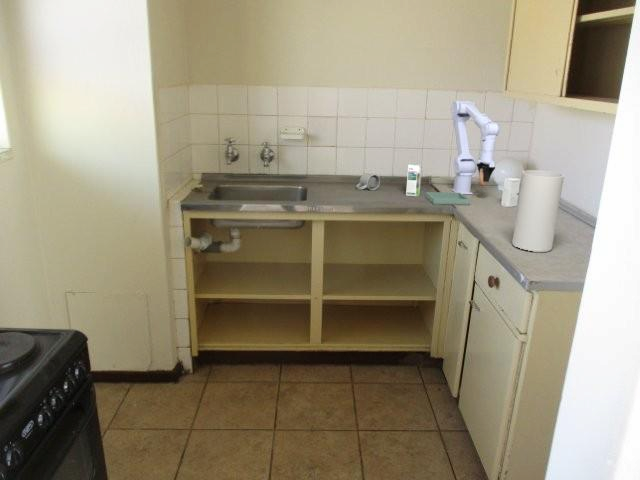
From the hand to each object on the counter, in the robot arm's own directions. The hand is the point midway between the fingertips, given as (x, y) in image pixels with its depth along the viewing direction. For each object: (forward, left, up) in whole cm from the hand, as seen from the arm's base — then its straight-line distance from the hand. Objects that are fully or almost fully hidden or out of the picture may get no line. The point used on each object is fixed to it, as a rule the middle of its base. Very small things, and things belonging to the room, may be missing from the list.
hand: (483, 180), depth 238 cm
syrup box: (-10, -30, -10) cm, 33 cm away
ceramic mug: (-23, -50, -10) cm, 55 cm away
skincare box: (+9, +9, -10) cm, 16 cm away
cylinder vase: (+67, -7, -10) cm, 68 cm away
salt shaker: (0, 0, -2) cm, 2 cm away
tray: (+2, -17, -9) cm, 19 cm away
